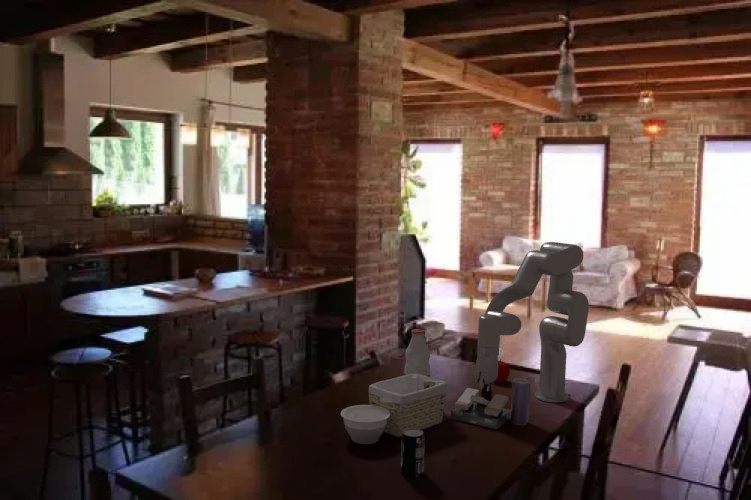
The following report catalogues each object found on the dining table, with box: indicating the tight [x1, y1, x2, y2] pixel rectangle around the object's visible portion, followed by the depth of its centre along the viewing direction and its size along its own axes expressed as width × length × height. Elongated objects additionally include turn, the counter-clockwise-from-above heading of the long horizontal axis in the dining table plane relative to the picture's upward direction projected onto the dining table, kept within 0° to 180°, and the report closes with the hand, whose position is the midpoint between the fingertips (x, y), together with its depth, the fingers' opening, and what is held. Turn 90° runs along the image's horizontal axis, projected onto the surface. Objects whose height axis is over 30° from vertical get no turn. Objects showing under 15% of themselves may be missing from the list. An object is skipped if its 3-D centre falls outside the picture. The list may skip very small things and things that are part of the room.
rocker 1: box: [454, 387, 480, 410], centre depth 242 cm, size 10×4×2 cm, turn 146°
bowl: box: [340, 404, 390, 445], centre depth 219 cm, size 16×16×9 cm
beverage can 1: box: [400, 428, 426, 478], centre depth 194 cm, size 7×7×12 cm
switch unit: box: [450, 402, 511, 430], centre depth 239 cm, size 13×17×5 cm
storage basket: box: [368, 373, 448, 438], centre depth 231 cm, size 24×16×15 cm
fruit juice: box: [403, 328, 431, 389], centre depth 251 cm, size 9×9×28 cm
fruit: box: [493, 357, 511, 384], centre depth 282 cm, size 9×9×10 cm
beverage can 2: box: [510, 377, 531, 426], centre depth 235 cm, size 6×6×15 cm
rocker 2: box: [470, 395, 490, 406], centre depth 239 cm, size 10×4×2 cm, turn 147°
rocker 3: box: [484, 393, 509, 416], centre depth 236 cm, size 10×4×2 cm, turn 146°
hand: (486, 400), depth 242 cm, fingers closed
